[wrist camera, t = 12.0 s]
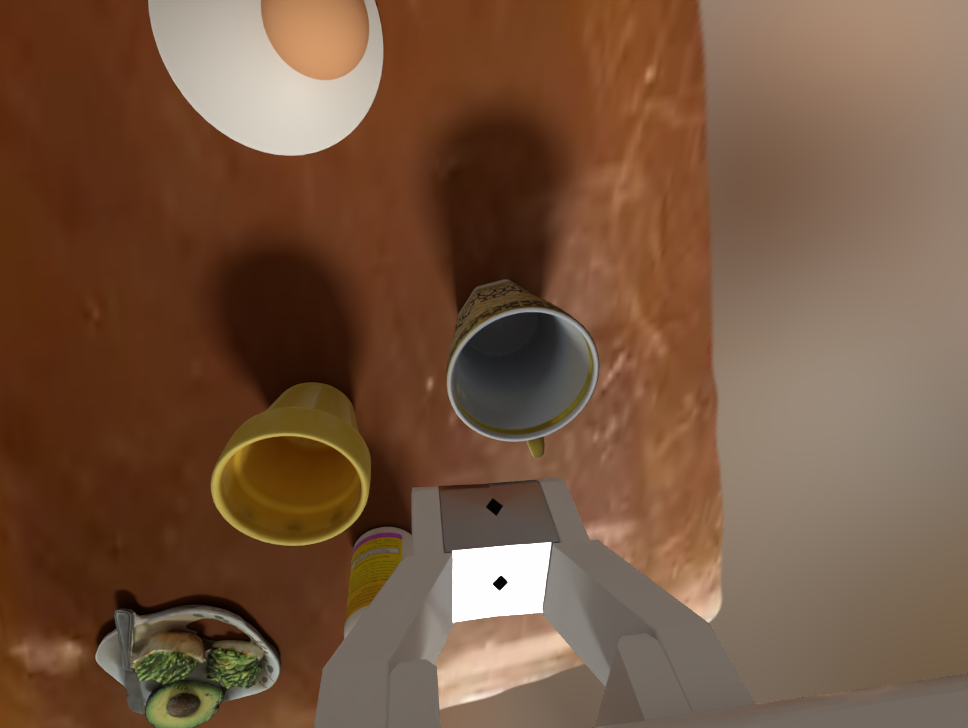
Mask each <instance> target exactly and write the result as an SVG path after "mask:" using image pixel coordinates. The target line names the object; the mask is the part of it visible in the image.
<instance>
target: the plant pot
mask: <svg viewBox="0 0 968 728" xmlns="http://www.w3.org/2000/svg"><path fill="white" fill-rule="evenodd" d="M370 478H371V458H370V453H369V450H368V447H367V445H366V443H365V441H364V439H363V438H362V436H361V435H360V434H359V432H358V427H357V422H356V416H355V411H354V408H353V405H352V403H351V402H350V400H349V399H348V398H347V397H346V395H345V394H343V393H342V392H341V391H340V390H338V389H336V388H334V387H332V386H330V385H327V384H323V383H317V382H307V383H301V384H297V385H295V386H292V387H291V388H289V389H287V390H286V391H285V392H283V393H282V394H281V395H280V396H279V398H278V399H277V400H276V401H275V402H274V403H273V404H272V405H271V406H270V407H269V408H268V409H267V410H266V411H264V412H262V413H260V414H257V415H255V416H254V417H252V418H250V419H249V420H247V421H246V422H245V423H243V424H242V425H241V426H240V427H239V428H238V429H237V430H236V431H235V433H234V434H233V435H232V437H231V438H230V440H229V442H228V443H227V445H226V446H225V448H224V450H223V452H222V453H221V455H220V457H219V459H218V461H217V463H216V465H215V467H214V470H213V473H212V477H211V493H212V497H213V500H214V503H215V505H216V507H217V509H218V510H219V512H220V513H221V515H222V516H223V517H224V518H225V519H226V520H227V521H228V522H229V523H230V524H231V525H232V526H233V527H235V528H236V529H238V530H239V531H241V532H242V533H244V534H246V535H248V536H250V537H252V538H255V539H258V540H260V541H264V542H268V543H273V544H279V545H307V544H313V543H318V542H321V541H324V540H327V539H330V538H332V537H334V536H336V535H338V534H340V533H341V532H343V531H344V530H346V529H347V528H348V527H350V526H351V525H352V524H353V523H354V522H355V521H356V520H357V518H358V517H359V516H360V514H361V513H362V511H363V509H364V507H365V505H366V502H367V499H368V495H369V488H370Z"/></svg>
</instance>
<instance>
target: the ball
mask: <svg viewBox="0 0 968 728" xmlns="http://www.w3.org/2000/svg"><path fill="white" fill-rule="evenodd" d="M261 15H262V21H263V25H264V29H265V31H266V34H267V36H268V39H269V41H270V43H271V44H272V46H273V48H274V49H275V51H276V52H277V54H278V55H279V56H280V57H281V58H282V60H283V61H284V62H285V63H287V64H288V65H289V66H290V67H291V68H293V69H294V70H295V71H297V72H299V73H301V74H302V75H304V76H307V77H310V78H313V79H318V80H332V79H337V78H340V77H342V76H345V75H346V74H348V73H349V72H351V71H352V70H353V69H354V68H355V67H356V66H357V65H358V64H359V62H360V61H361V59H362V58H363V56H364V53H365V51H366V48H367V44H368V39H369V18H368V13H367V9H366V6H365V3H364V0H261Z"/></svg>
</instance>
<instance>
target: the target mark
mask: <svg viewBox="0 0 968 728" xmlns="http://www.w3.org/2000/svg"><path fill="white" fill-rule="evenodd" d="M364 3H365V6H366V9H367V13H368V18H369V39H368V44H367V48H366V51H365V53H364V56H363V58H362V59H361V61H360V62H359V64H358V65H357V66H356V67H355V68H354V69H353V70H352V71H351V72H349V73H348V74H346V75H345V76H342V77H340V78H337V79H332V80H318V79H313V78H310V77H307V76H304V75H302V74H301V73H299V72H297V71H295V70H294V69H293V68H291V67H290V66H289V65H288V64H287V63H285V62H284V61H283V60H282V58H281V57H280V56H279V55H278V54H277V52H276V51H275V49H274V48H273V46H272V44H271V43H270V41H269V39H268V36H267V34H266V31H265V29H264V25H263V21H262V15H261V0H148V4H149V15H150V20H151V26H152V31H153V34H154V38H155V41H156V44H157V48H158V50H159V52H160V55H161V57H162V60H163V62H164V64H165V66H166V68H167V70H168V72H169V74H170V76H171V77H172V79H173V81H174V83H175V84H176V85H177V87H178V88H179V90H180V91H181V93H182V94H183V96H184V97H185V98H186V99H187V100H188V102H189V103H190V104H191V105H192V106H193V108H194V109H195V110H196V111H197V112H198V113H199V114H200V115H201V116H202V117H203V118H204V119H205V120H206V121H208V122H209V123H210V124H211V125H213V126H214V127H215V128H216V129H218V130H219V131H220V132H222V133H224V134H225V135H227V136H228V137H230V138H231V139H233V140H235V141H237V142H239V143H241V144H243V145H245V146H247V147H250V148H253V149H256V150H259V151H262V152H267V153H271V154H277V155H288V156H290V155H304V154H309V153H315V152H318V151H320V150H323V149H326V148H328V147H330V146H332V145H334V144H336V143H338V142H339V141H341V140H342V139H343V138H345V137H346V136H348V135H349V134H350V133H351V132H352V131H353V130H354V129H355V128H356V127H357V126H358V125H359V123H360V122H361V121H362V119H363V118H364V117H365V115H366V114H367V112H368V110H369V108H370V107H371V105H372V103H373V100H374V98H375V95H376V93H377V90H378V86H379V82H380V78H381V73H382V65H383V37H382V28H381V22H380V18H379V13H378V9H377V6H376V3H375V0H364Z"/></svg>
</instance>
